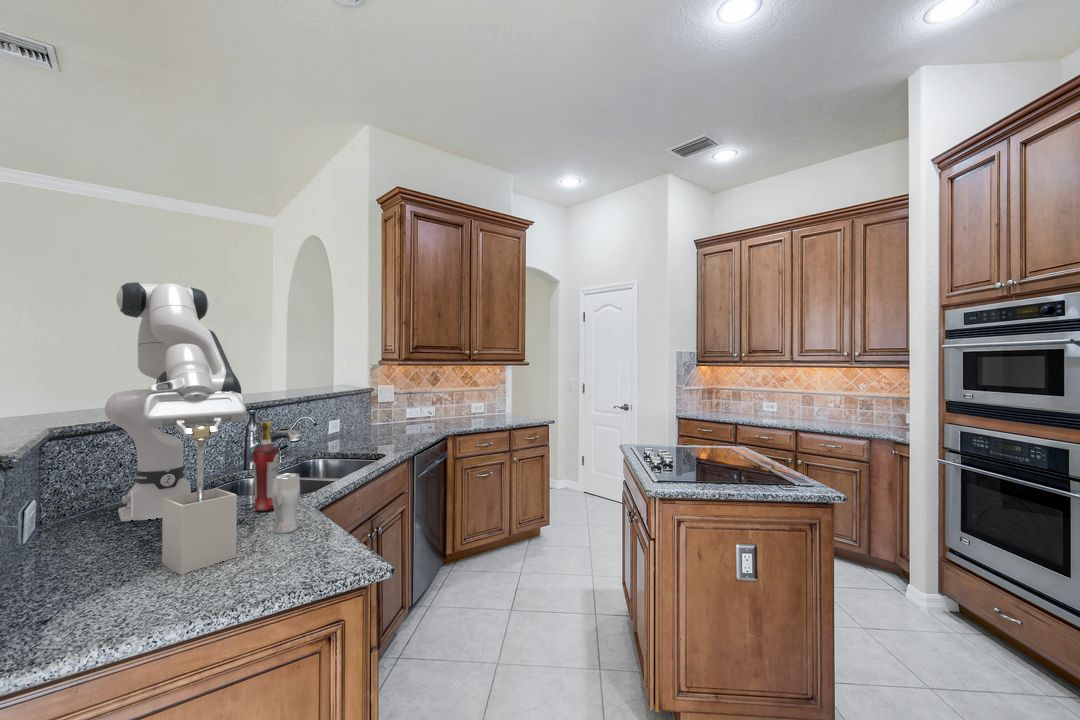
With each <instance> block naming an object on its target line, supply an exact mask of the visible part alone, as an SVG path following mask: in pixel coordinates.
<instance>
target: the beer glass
mask: <svg viewBox="0 0 1080 720" xmlns="http://www.w3.org/2000/svg"><path fill="white" fill-rule="evenodd" d="M300 479H301V478H300V473H296V472H295V473H292V472H291V473H282V474H281V473H280V474H278V475H276V476H274V477H273V482H272V502H273V507H274V509H273V513H274V526H273V532H274V533H275V534H287V533H288V534H289V533H292V532H295V531H297V530H298V529H299V523H298V517H297V515H298V508H299V503H300V496H301V481H300Z"/></svg>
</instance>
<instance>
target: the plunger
mask: <svg viewBox="0 0 1080 720" xmlns="http://www.w3.org/2000/svg"><path fill="white" fill-rule="evenodd" d="M210 427H211V425H193V426H191V427H190V429H192V438H190V440H191V441H197V447H196V448H197V449H196V450H197V451H196V452H197V457H196V460H197V461H196V463H197V464H196V465H197V467H196V468H197V470H196V471H197V472H196V475H197V476H196V485H197V486H196V492H197V502H201V501H205V500H203V491H204V481H205V480H204V479H205V478H204V470H205V467H204V464H205V463H204V459H205V455H204V454H205V448H204V447H205V443H204V442H205V440H210V439H211V437H210ZM213 499H214V498H213ZM208 500H210V499H208ZM193 503H196V502H193ZM188 504H191V503H188ZM184 505H186V504H184Z"/></svg>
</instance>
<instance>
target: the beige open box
mask: <svg viewBox="0 0 1080 720" xmlns="http://www.w3.org/2000/svg"><path fill="white" fill-rule="evenodd" d="M213 498H214V499H213ZM208 499H210V500H208ZM203 500H205V501H201V502H197V491H194V492H191V493H189V494H183V495H178V496H173V497H168V498H163V518H161V519H162V531H161V533H162V534H161V536H162V537H161V564H162V565H163V566H166V567H167V568H169V569H170V570H171V571H174V572H175V573H176V574H178V575H180V576H182V574H183V575H185V573H186V574H188V572H189V573H191V572H190V571H192V572H195V571H198V570H197V569H199V570H201V569H200V568H202V569H204V568H203V567H205V568H207V567H206V566H208V567H210V566H209V565H211V566H214V565H213V564H215V563H218V564H220V563H219V562H221V563H223V562H222V561H224V562H227V561H230V560H233V559H232V558H234V559H236V558H237V541H238V540H237V539H238V538H237V537H238V536H237V533H238V532H237V530H238V529H237V525H238V524H237V522H238V521H237V518H238V516H237V515H238V514H237V513H238V512H237V509H238V507H237V506H238V503H237V502H238V494H236V493H233V492H230V491H228V490H223V489H220V488H218V487H216V488H215V487H213V488H210V489H205V490H204V489H203ZM193 502H196V503H193ZM188 503H191V504H188ZM184 504H186V505H184ZM235 557H236V558H235ZM229 559H230V560H229ZM226 560H227V561H226ZM215 565H216V564H215ZM194 570H195V571H194Z"/></svg>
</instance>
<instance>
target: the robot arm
mask: <svg viewBox="0 0 1080 720" xmlns="http://www.w3.org/2000/svg"><path fill="white" fill-rule="evenodd" d="M116 304H117V306H118V309H119V311H120V313H122V314H123V315H124V316H127V317H132V318H135V319H137V318H141V319H140V323H139V327H138V328H139V329H138V333H137V334H138V335H137V368H138V370H139V372H140V373H142V374H143V375H145V376H146V377H149V378H151V379H154V380H156V383H154V384H151V385H150V386H149V387H148V388H145V389H144V388H143V389H130V390H124V391H119V392H115V393H113V394H112V395H111V396H110V397H109V398H108V399H107V401H106V402H105V405H104V406H105V407H104V412H105V416H106V417H107V420H109V421H110V422H111V423H112V424H114V425H115V426H116V427H119V428H121V429H123V430H124V431H125V432H126V433H128V435H130V437H131V439H132V440H133V442H134V444H135V448H136V455H137V470H136V471H135V475H134V482H135V483H134V485H133V486H132V487H131V488H130V490H129V491H128V493H127V494H126V495H122V496H121V503H122V504H126V506H123V507H119V508H118V510H117V513H118V517H119V520H120V522H131V520H133V521H149V520H148V519H151V520H157V519H156V518H158V519H162V518H163V498H168V497H173V496H178V495H183V494H189V493H192V492H191V491H192V490H191V483H190V481H189V480H187V479H186V478H185V476H186V467H185V465H184V443H183V440H181V438H179V437H178V436H175V435H173V434H169V433H167V432H162V431H161V430H160V429H161V428H172V427H173V428H175V430H176V431H178V433H181V435H182V437H183V439H184V440H187V439H189V440H190V439H191V438H192V429H191V428H187V427H188V426H189V427H190V426H203V425H212V426H210V438H211V437H217V436H218V434H219V427H220V425H221V424H226V423H239V422H242V421H243V420H244V419H245V418H246V416H247V407H246V405H245V403H244V398H243V395H242V386H241V383H240V381H239V379H238V377H237V376H236V375H235V372H234V371H233V369H232V367H231V365H230V363H229V361H228V358H227V356H226V354H225V351H224V349H223V346H222V344H221V343H220V342H221V341H220V340H219V339H218V337H217V335H216V334H215V332H214V331H213V330H210V329H209V328H207V327H206V326H205V325H204V324H203V323H202V322H201V319H203V318H204V317H205V316H206V315H207V312H208V311H209V310H208V309H209V307H210V306H209V304H210V303H209V300H208V297H207V294H206V293H205V291H203V290H201V289H199V288H195V287H186V286H183V285H181V284H177V283H172V282H169V283H167V282H166V283H140V282H135V281H134V282H126V283H124V284H123V285H121V286H120V288H119V289H118V291H117V294H116ZM210 371H211V373H212V374H210ZM186 426H187V427H186Z"/></svg>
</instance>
